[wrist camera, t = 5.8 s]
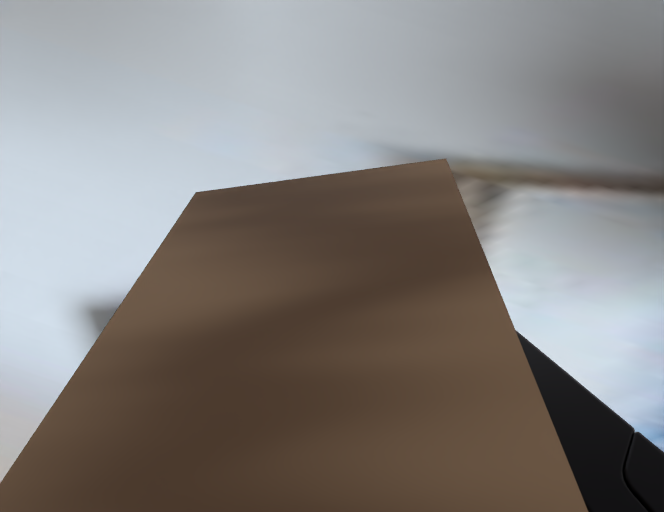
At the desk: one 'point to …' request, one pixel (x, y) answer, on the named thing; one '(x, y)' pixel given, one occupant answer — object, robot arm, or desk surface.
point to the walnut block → (305, 366)
